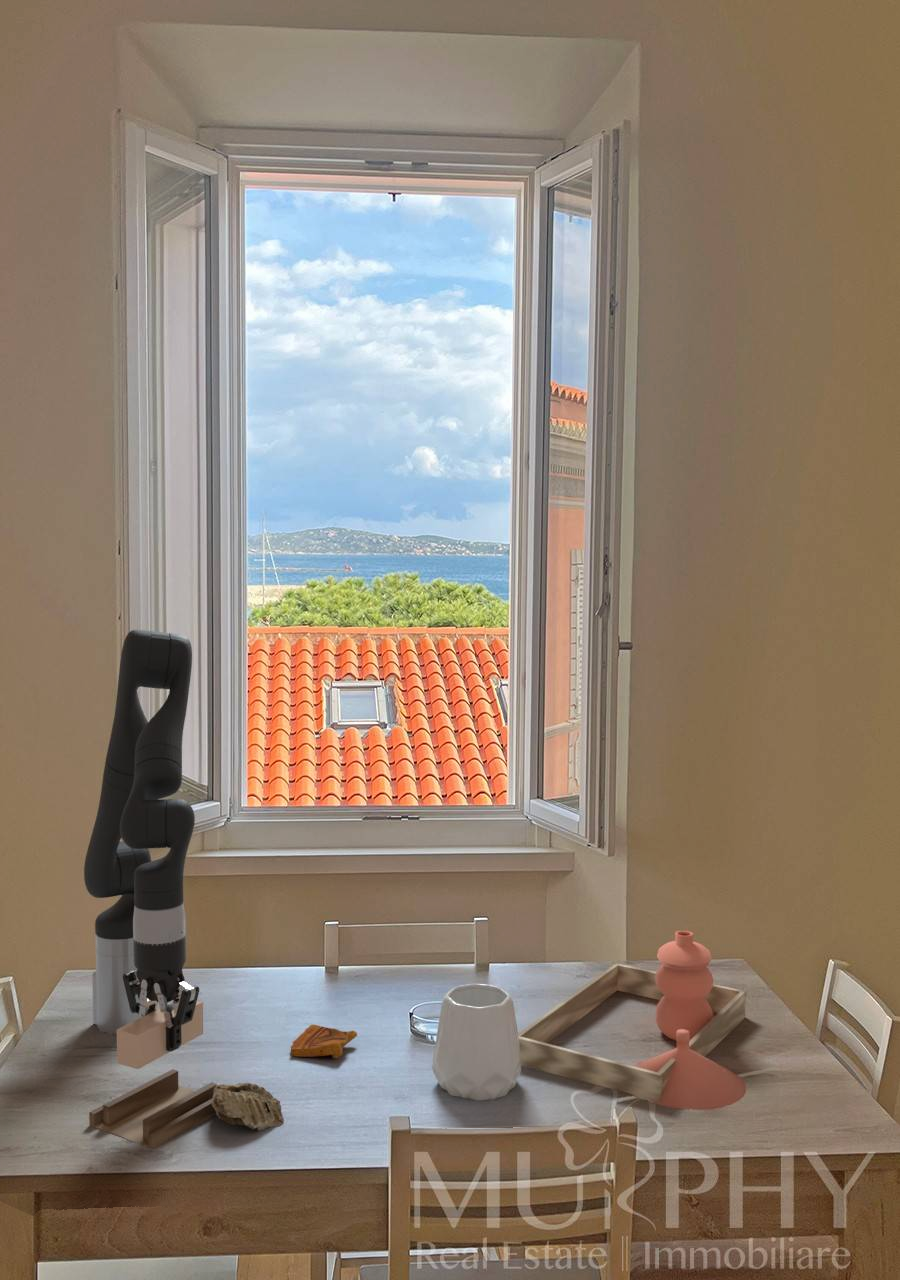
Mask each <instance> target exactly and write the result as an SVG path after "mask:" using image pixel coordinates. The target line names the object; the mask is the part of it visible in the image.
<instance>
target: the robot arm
mask: <svg viewBox="0 0 900 1280" xmlns="http://www.w3.org/2000/svg"><path fill="white" fill-rule="evenodd" d="M192 665H193V649H192V644H191V641H190V639H189V637H188V636H185V635H183V634H178V633H172V632H170V633H169V632H163V631H154V630H145V629H132V630H130V631H129V632H128V633H127V634H126V635H125V639H124V641H123V644H122V649H121V654H120V662H119V672H118V679H117V680H118V683H117V692H116V699H115V709H114V717H113V722H112V726H111V728H112V729H111V732H110V737H109V742H108V748H107V752H106V757H105V762H104V768H103V775H102V782H101V791H100V796H99V803H98V808H97V813H96V818H95V821H94V825H93V828H92V833H91V836H90V840H89V843H88V847H87V849H86V850H87V851H86V855H85V860H84V868H83V876H84V877H83V878H84V879H83V880H84V883H85V884H84V885H85V888H86V891H87V892H88V893H89V894H90V895H91V896H92V897H93V898H96V899H104V898H105V899H106V898H112V897H117V896H120V897H119V899H118V900H117V901H116V902H115V903H114V904H113V905H112V906H110V907H109V908H107V909H105V910H104V911H102V912H101V913H100V914H98V916H96V919H95V922H94V930H95V931H94V933H95V939H94V940H95V971H94V972H93V973H92V977H91V978H92V981H91V982H92V1020H93V1021H92V1022H93V1023H92V1024H93V1025H94V1024H95V1026H96V1027H97V1030H98V1029H99V1030H100V1031H99V1030H98V1031H99V1032H101V1031H102V1033H104V1032H106V1033H105V1034H109V1033H114V1034H113V1035H117V1029H119V1028H121V1027H123V1026H125V1025H127V1024H129V1023H131V1022H133V1021H135V1020H137V1019H139V1018H141V1017H143V1016H145V1015H147V1014H149V1013H151V1012H153V1011H155V1010H158V1006H159V1009H160V1011H161V1012H162V1013H164V1017H165V1022H166V1026H167V1027H166V1050H167V1051H170V1052H169V1053H172V1052H173V1051H176V1050H178V1049H179V1048H180V1047H181V1046H180V1045H181V1042H182V1041H181V1025H183V1024H185V1023H187V1022H189V1021H191V1020H192V1018H193V1014H194V1010H195V1006H196V1002H197V1001H198V998H199V993H200V986H199V985H197V984H195V985H192V986H191V985H190V984H188V983H187V982H186V981H185V976H184V973H183V967H184V965H185V963H186V960H187V947H186V946H187V943H186V942H187V940H186V939H187V937H186V936H187V935H186V911H185V906H184V905H185V904H184V869H185V862H186V859H187V853H188V849H189V846H190V843H191V839H192V836H193V834H194V833H193V832H194V828H195V820H196V818H195V817H196V816H195V815H196V814H195V811H194V808H193V807H192V806H191V804H189V802H188V801H186V800H185V799H181V798H170V799H169V798H168V799H164V798H167V797H170V796H173V795H174V794H177V792H178V791H179V790H180V788H181V786H182V782H183V736H184V729H185V728H184V727H185V721H186V715H187V708H188V701H189V694H190V686H191V677H192V668H193V666H192ZM140 687H142V688H149V689H150V688H151V689H159V690H168V695H167V698H166V699H165V701H164V703H163V704H162V705H161V707H160V708H159V709H158V711H156V713H155V714H154V715H153V716H152V717H151V719H149V721H148V720H147V718H146V716H145V713H144V711H143V709H142V708H143V707H142V706H141V703H140V702H141V701H140V698H139V695H138V694H139V693H138V688H140ZM121 840H122V841H121ZM164 848H165V849H166V848H170V850H169V851H168V852H167V854H166V855H165V856H164V857H161V858H158V859H156V860H152V857H151V853H150V850H149V849H164ZM172 1002H173V1003H172ZM170 1003H171V1004H170ZM168 1004H169V1005H168ZM172 1010H174V1014H175V1017H173V1016H172Z"/></svg>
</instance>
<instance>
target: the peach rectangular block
mask: <svg viewBox="0 0 900 1280" xmlns="http://www.w3.org/2000/svg"><path fill="white" fill-rule="evenodd" d="M171 1003H173V1001H171V1002H169V1003H167V1004H168V1005H169V1004H171ZM172 1016H173V1017H175V1014H174V1010H172ZM166 1027H167V1026H166V1022H165V1017H164V1013H162V1012H161V1011H160V1008H157V1010H155V1011H153V1012H151V1013H149V1014H147V1015H145V1016H143V1017H141V1018H139V1019H137V1020H135V1021H133V1022H131V1023H129V1024H127V1025H125V1026H123V1027H121V1028H119V1029H117V1034H116V1056H117V1057H116V1061H117V1064H118V1065H122V1066H125V1067H126V1066H127V1067H130V1068H133V1069H136V1070H139V1069H141V1068H144V1067H145V1066H146V1065H149V1064H151V1063H152V1062H154V1061H156V1060H157V1059H160V1058H161V1057H163V1056H165V1055H167V1054H169V1053H171V1052H170V1051H167V1050H166ZM202 1035H204V1002H203V1001H201V1000H200V1001H199V1000H197V1002H196V1006H195V1010H194V1014H193V1018H192V1020H191V1021H189V1022H187V1023H185V1024H183V1025H181V1041H182V1042H181V1045H180V1047H181V1046H184V1045H185V1044H187V1043H189V1042H190V1041H193V1040H194V1039H197V1038H198V1037H200V1036H202Z"/></svg>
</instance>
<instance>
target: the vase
mask: <svg viewBox="0 0 900 1280" xmlns="http://www.w3.org/2000/svg"><path fill="white" fill-rule="evenodd" d="M514 1005H515V1004H514V1001H513V998H512V996H511V995H510V994H509V993H508V992H507V991H506V990H505V989H503V988H501V987H500V986H499V987H498V986H495V985H493V984H485V983H467V984H461V985H458V986H454V987H453V988H451V989H450V990H448V991H447V992H446V994H445V995H444V997H443V999H442V1003H441V1007H440V1012H439V1013H440V1015H439V1018H438V1024H437V1025H438V1026H437V1032H436V1037H435V1038H436V1039H435V1045H434V1051H433V1058H432V1066H431V1068H432V1072H433V1075H434V1077H435V1079H436V1080H437V1082H438V1083H439V1087H440V1088H441V1089H443V1090H445V1091H447V1093H448V1095H449V1096H451V1097H453V1096H454V1097H460V1098H462V1099H471V1100H474V1101H486V1100H495V1099H497V1098H501V1097H506V1096H507V1095H508V1093H509V1092H510V1091H511V1090H512V1089H514V1088H515V1086H517V1082H518V1079H519V1078H520V1075H521V1071H522V1066H521V1054H520V1045H519V1037H518V1033H519V1030H518V1023H517V1016H516V1010H515V1006H514Z"/></svg>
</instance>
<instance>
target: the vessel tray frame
mask: <svg viewBox="0 0 900 1280" xmlns="http://www.w3.org/2000/svg"><path fill="white" fill-rule="evenodd" d="M656 972H657V971H655V970H649V969H644V968H639V967H635V966H631V965H630V966H629V965H625V964H620V963H614V964H613V965H612V966H610V967H609V968H607V969H606V970H604V971H602V973H600V974H598V975H597V976H596V977H595V978H593V979H592V980H590V981H589V982H588V983H586V984H585V985H583V986H582V987H581V988H579V989H578V990H577V991H575V992H574V993H572V994H571V995H569V996H568V997H566V998H565V999H564V1000H563V1001H562V1002H560V1003H559V1004H557V1005H556V1006H553V1008H551V1009H550V1010H548V1011H547V1012H546V1013H544V1014H543V1015H542V1016H540V1017H539V1018H538V1019H536V1020H535V1021H534V1022H532V1023H531V1024H529V1025H528V1026H526V1027H525V1028H524V1029H522V1030H521V1031H518V1037H519V1045H520V1054H521V1067H525V1068H528V1069H533V1070H537V1071H541V1072H545V1073H547V1074H548V1073H549V1074H553V1075H557V1076H561V1077H565V1078H568V1079H572V1080H576V1081H579V1082H584V1083H588V1084H591V1085H595V1086H600V1087H603V1088H608V1089H611V1090H612V1089H613V1090H615V1091H620V1092H622V1093H623V1092H624V1093H626V1094H627V1093H628V1094H630V1095H631V1096H634V1097H633V1098H635V1097H636V1098H635V1099H639V1098H640V1100H643V1101H646V1100H649V1101H655V1102H660V1100H661V1097H662V1095H663V1092H664V1090H665V1087H666V1085H667V1082H668V1080H669V1077H670V1074H671V1072H672V1069H673V1067H674V1064H675V1062H676V1060H675V1059H673V1058H672V1059H671V1060H669V1061H668V1062H667V1063H666V1064H665V1065H664V1066H663V1067H662V1068H661V1069H660V1070H659V1071H658V1072H654V1071H650V1070H646V1069H642V1068H639V1067H635V1065H630V1064H627V1063H624V1062H623V1063H622V1062H619V1061H615V1060H611V1059H608V1058H604V1057H600V1056H596V1055H593V1054H589V1053H584V1052H581V1051H577V1050H573V1049H569V1048H565V1047H563V1046H560V1045H559V1046H558V1045H554V1044H550V1043H549V1042H551V1041H552V1040H554V1039H555V1038H557V1037H559V1035H560V1034H562V1033H563V1032H565V1031H566V1030H567V1029H569V1028H570V1027H571V1026H573V1025H574V1024H575V1023H578V1021H579V1020H581V1019H582V1018H584V1017H585V1016H586V1015H587V1014H589V1013H590V1012H591V1011H592V1010H594V1009H595V1008H597V1007H598V1006H599V1005H601V1003H603V1002H605V1000H607V999H608V998H610V997H611V996H612V995H613V994H615V993H616V992H617V991H618V992H623V993H627V994H631V995H636V996H640V997H645V998H649V999H653V1000H657V1001H660V1000H661V998H662V997H663V996H665V995H664V994H663V993H661V991H660V990H659V988H658V987H657V985H656V980H655V976H656ZM704 998H705V999H706V1000H707V1001H708V1003H709V1005H710V1006H711V1009H712V1012H713V1014H716V1015H715V1016H713V1019H712V1020H711V1021H710V1022H709V1023H708V1024H707V1025H706V1026H704V1027H703V1028H702V1029H701V1030H700V1031H699V1032H698V1033H697V1034H696V1035H695V1036H694V1037H693V1038H692V1039H691V1040H690V1042H689V1049H691V1050H692V1051H694V1052H696V1053H698V1054H700V1055H702V1056H704V1057H707V1055H708V1054H709V1053H710V1052H712V1050H713V1049H714V1048H715V1047H716V1046H717V1045H718V1044H719V1043H721V1041H722V1040H724V1039H725V1038H726V1037H727V1036H728V1035H729V1034H730V1033H731V1032H732V1031H733V1030H734V1029H735V1028H736V1027H737V1026H738V1025H739V1024H740V1023H741V1022H742V1021H743V1020H744V1019H745V1018H746V1008H747V1007H746V1003H747V991H746V990H741V989H738V988H732V987H728V986H724V985H723V986H722V985H719V984H715V983H713V987H712V989H711V991H710V992H709V994H708V995H706V996H705V997H704ZM631 1096H630V1097H631ZM644 1099H645V1100H644ZM649 1101H648V1102H649Z"/></svg>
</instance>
